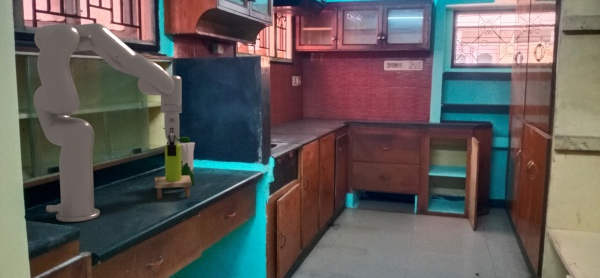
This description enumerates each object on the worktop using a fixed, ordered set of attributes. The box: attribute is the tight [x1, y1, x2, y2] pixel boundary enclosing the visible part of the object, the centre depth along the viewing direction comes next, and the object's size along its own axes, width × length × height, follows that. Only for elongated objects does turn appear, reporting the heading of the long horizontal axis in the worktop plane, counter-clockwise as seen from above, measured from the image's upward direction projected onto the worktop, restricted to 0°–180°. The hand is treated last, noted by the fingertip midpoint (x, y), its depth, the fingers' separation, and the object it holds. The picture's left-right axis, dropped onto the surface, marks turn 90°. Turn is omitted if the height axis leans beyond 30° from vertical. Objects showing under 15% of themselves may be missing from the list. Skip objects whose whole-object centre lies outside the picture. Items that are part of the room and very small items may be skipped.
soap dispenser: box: [162, 127, 181, 181], centre depth 180 cm, size 6×7×20 cm
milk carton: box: [177, 136, 196, 189], centre depth 196 cm, size 9×9×20 cm
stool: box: [154, 175, 192, 201], centre depth 181 cm, size 13×13×6 cm
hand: (171, 154), depth 179 cm, fingers open, 9 cm apart
